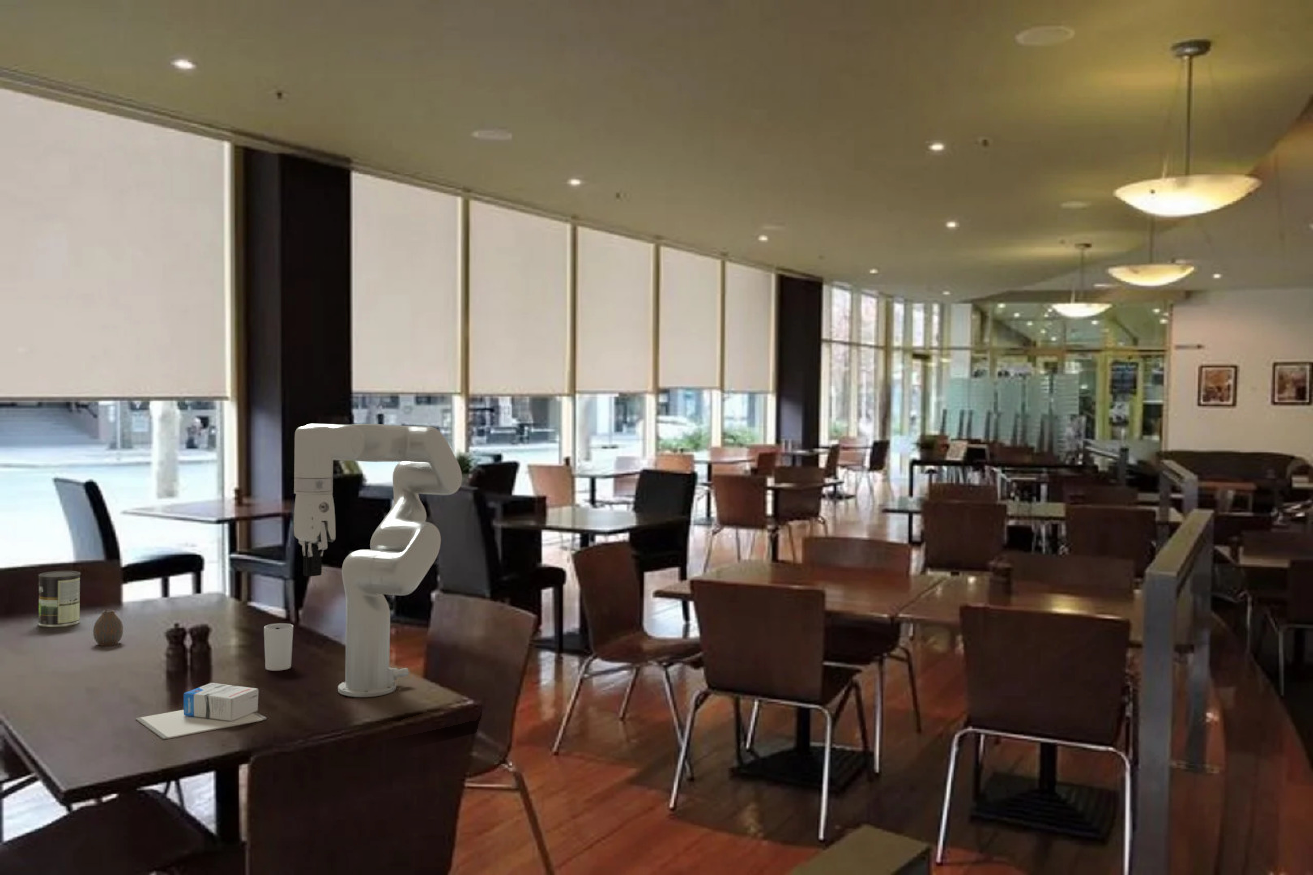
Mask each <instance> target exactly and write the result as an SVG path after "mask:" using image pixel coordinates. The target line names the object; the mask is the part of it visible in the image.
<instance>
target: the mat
mask: <svg viewBox="0 0 1313 875" xmlns="http://www.w3.org/2000/svg"><path fill="white" fill-rule="evenodd" d="M135 720H136V721H137V722H139V724H141V725H142V726H144V727H145V728H146V729H148V730H149V731H151V732H152V733H153V734H155V735H156V736H158V737H159V738H161V739H162V740H168V739H174V738H178V737H179V738H180V737H183V736H190V735H194V734H199V733H204V732H210V731H214V730H219V729H220V730H221V729H225V728H231V727H235V726H240V725H246V724H251V723H255V722H256V723H257V722H261V721H266V720H267V717H266V716H264V715H261V714H260V713H258V711H255V712H253V713H251V714H248V715H246V716H243V717H241V718H238V719H236V720H233V721H227V720H219V719H211V718H203V717H195V716H186V715H184V709H180V710H175V711H168V712H164V713H158V714H152V715H147V716H141V717H136V718H135Z"/></svg>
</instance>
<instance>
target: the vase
mask: <svg viewBox="0 0 1313 875" xmlns="http://www.w3.org/2000/svg"><path fill="white" fill-rule="evenodd" d="M92 630H93V631H92V632H93V633H92V635H93V638H94V640H95V642H96V644H98V646H102V647H110V646H114V645H117V644H118V643H120V640H122V637H123V635H124V625H123V622H122V620H121V618H120V617H119V616H118V615H117V614H116V613H115V611H114V609H107V610H103V611H102V613H101V614H100V616H99V617H98V619H97V620H96V621H95V623H94V626H93V629H92Z"/></svg>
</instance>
